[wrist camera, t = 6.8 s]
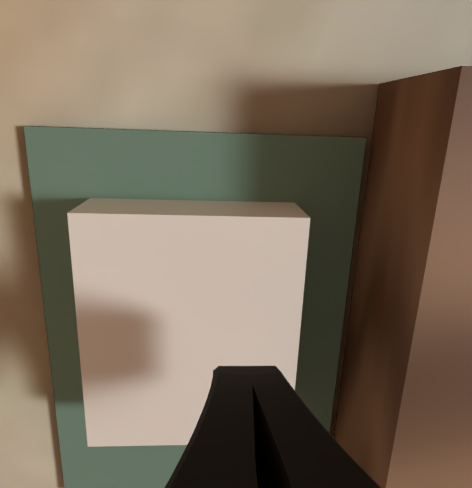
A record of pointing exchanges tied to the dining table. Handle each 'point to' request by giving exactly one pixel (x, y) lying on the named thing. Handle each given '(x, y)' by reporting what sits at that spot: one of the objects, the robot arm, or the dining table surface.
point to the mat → (188, 188)
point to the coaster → (180, 306)
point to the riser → (414, 291)
